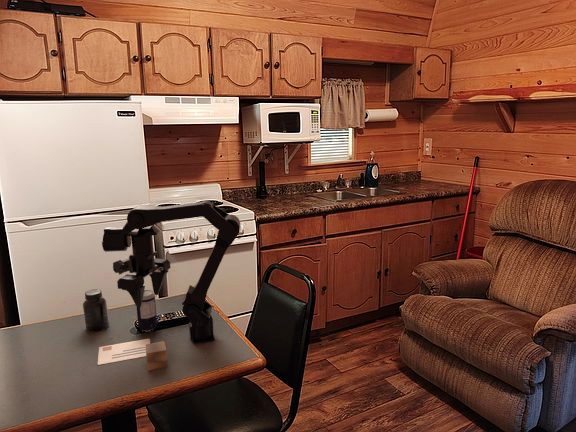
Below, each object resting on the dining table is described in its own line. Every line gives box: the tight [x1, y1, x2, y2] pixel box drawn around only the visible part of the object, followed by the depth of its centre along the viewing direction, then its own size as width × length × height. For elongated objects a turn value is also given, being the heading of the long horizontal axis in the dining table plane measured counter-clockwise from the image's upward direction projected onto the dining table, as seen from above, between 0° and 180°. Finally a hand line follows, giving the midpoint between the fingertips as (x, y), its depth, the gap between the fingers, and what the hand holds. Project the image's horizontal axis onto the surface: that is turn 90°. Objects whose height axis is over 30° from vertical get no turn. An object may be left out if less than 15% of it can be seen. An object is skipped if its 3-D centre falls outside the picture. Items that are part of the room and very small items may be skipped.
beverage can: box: [135, 289, 158, 333], centre depth 139 cm, size 6×6×12 cm
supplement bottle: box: [82, 288, 110, 332], centre depth 140 cm, size 7×7×12 cm
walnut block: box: [145, 341, 168, 371], centre depth 120 cm, size 5×5×5 cm
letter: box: [97, 338, 151, 366], centre depth 127 cm, size 14×10×1 cm
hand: (147, 300), depth 130 cm, fingers open, 9 cm apart
